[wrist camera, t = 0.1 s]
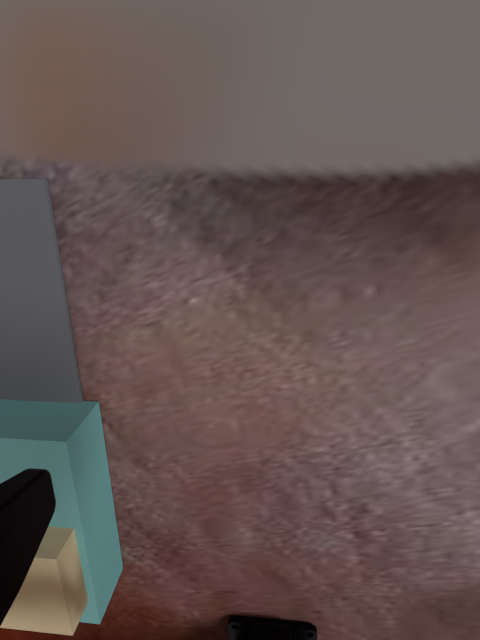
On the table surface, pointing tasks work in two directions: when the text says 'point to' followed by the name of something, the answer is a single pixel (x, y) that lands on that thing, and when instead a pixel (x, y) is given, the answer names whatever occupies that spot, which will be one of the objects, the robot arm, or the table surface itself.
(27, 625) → the oak tile
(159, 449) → the table surface
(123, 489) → the table surface
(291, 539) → the table surface
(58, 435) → the plate
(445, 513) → the table surface
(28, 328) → the mat
